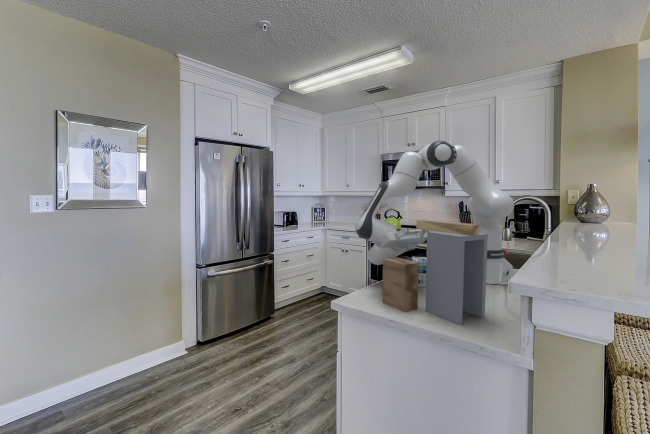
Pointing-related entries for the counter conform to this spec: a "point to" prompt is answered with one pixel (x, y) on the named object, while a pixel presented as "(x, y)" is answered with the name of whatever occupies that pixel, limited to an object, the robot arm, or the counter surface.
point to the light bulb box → (421, 270)
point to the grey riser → (456, 275)
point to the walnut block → (400, 283)
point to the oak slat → (448, 227)
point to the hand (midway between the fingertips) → (417, 229)
